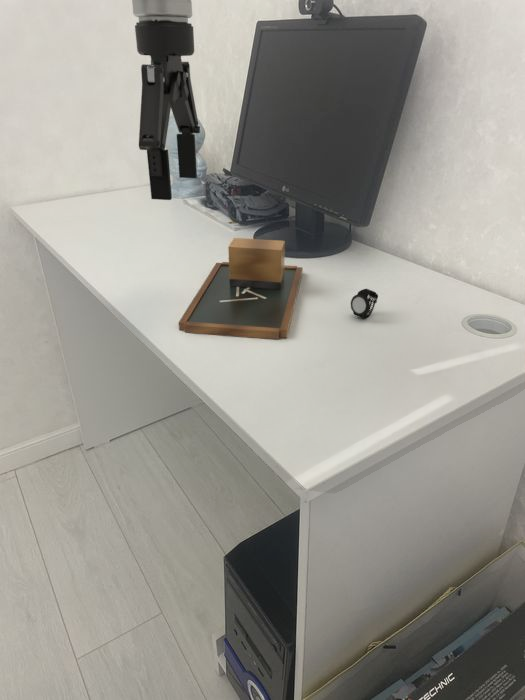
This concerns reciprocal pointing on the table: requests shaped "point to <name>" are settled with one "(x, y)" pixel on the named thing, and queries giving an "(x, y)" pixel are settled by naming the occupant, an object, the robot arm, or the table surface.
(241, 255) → the eraser
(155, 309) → the table surface
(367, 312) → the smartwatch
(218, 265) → the slate board
